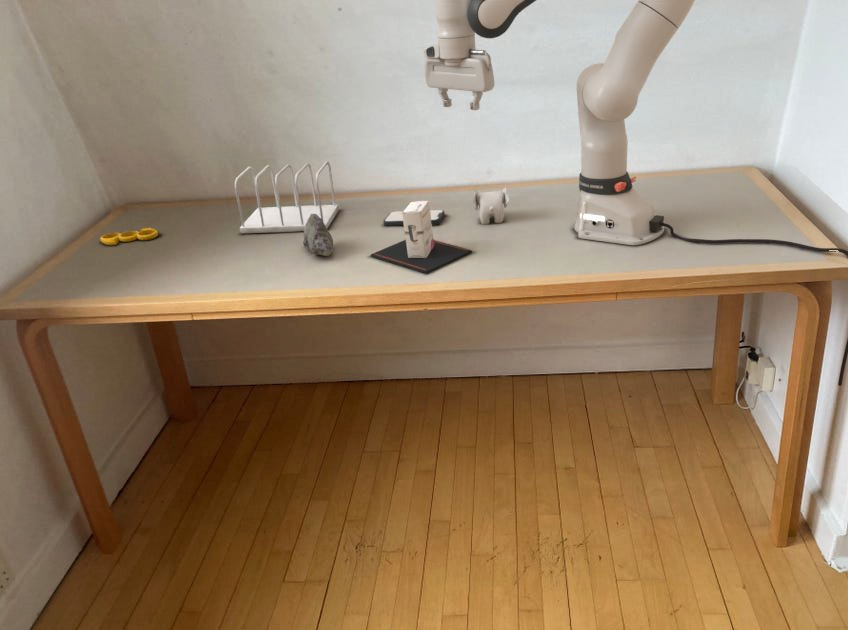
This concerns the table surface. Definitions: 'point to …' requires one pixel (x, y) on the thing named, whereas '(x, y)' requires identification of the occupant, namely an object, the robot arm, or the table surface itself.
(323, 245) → the mineral rock
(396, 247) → the mat
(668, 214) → the table surface
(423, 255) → the ink box
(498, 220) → the elephant figurine
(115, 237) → the yellow linked rings
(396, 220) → the smartphone
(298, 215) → the file sorter
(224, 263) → the table surface
